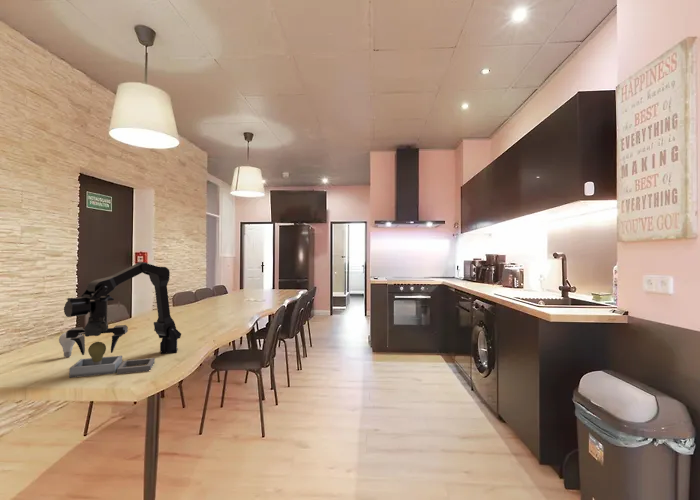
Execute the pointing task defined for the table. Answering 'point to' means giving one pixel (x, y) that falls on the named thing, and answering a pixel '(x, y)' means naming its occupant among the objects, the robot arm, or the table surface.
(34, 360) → the table surface
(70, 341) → the lightbulb
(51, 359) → the table surface
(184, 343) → the table surface
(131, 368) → the socket collar
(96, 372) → the parts tray
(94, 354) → the light bulb
